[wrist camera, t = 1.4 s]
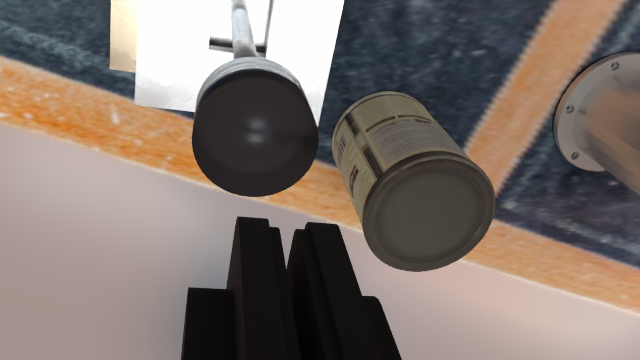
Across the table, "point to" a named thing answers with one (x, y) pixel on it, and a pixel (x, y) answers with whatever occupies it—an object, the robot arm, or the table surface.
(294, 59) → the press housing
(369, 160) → the coffee can
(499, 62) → the table surface
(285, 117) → the plunger
